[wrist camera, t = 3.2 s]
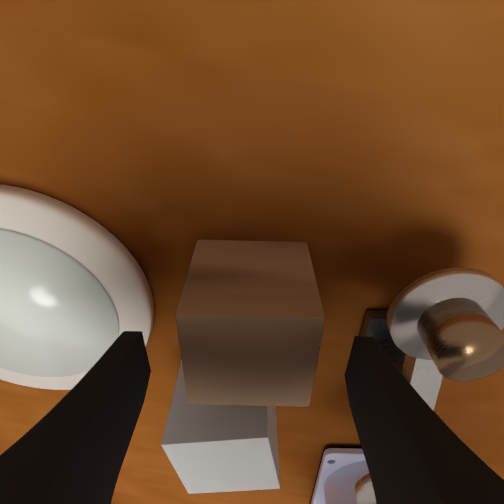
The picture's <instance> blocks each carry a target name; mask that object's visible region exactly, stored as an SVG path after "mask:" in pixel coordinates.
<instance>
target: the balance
mask: <svg viewBox="0 0 504 504" xmlns="http://www.w3.org/2000/svg"><path fill="white" fill-rule="evenodd" d="M503 328H504V287H503V286H502V285H501V284H500V283H499V282H498V281H497V280H496V279H495V278H494V277H492V276H491V275H490V274H488V273H486V272H484V271H481V270H478V269H474V268H468V267H452V268H445V269H441V270H437V271H434V272H431V273H428V274H426V275H424V276H421V277H420V278H418V279H416V280H414V281H413V282H411V283H410V284H408V285H407V286H406V287H405V288H403V289H402V290H401V291H400V292H399V293H398V294H397V296H396V297H395V298H394V299H393V301H392V303H391V305H390V307H389V309H388V310H366V314H365V318H364V321H363V325H362V329H361V333H360V336H362V337H374V338H375V339H376V341H377V342H378V343H379V345H380V346H381V347H382V349H383V350H384V351H385V352H386V354H387V355H388V356H389V358H390V359H391V360H392V362H393V363H394V364H395V365H396V367H397V368H398V369H399V371H400V372H401V373H402V374H403V376H404V377H405V378H406V379H407V381H408V382H409V383H410V384H411V385H412V387H413V388H414V389H415V390H416V391H417V393H418V394H419V395H420V396H421V397H422V399H423V400H424V401H425V402H426V403H427V404H428V405H429V407H430V408H431V409H432V410H433V411H434V407H435V404H436V400H437V396H438V393H439V389H440V385H441V382H442V378H443V376H444V377H446V378H448V379H451V380H456V381H471V380H476V379H480V378H483V377H486V376H489V375H491V374H493V373H495V372H496V371H498V370H499V369H501V368H502V367H503V366H504V334H503V333H502V331H501V330H502V329H503ZM354 490H355V495H356V500H357V504H377V503H376V498H375V493H374V489H373V485H372V481H371V477H370V474H369V473H368V474H366V475H365V476H363V477H362V478H361V479H360V480H358V482H357V483H356V485H355V488H354Z"/></svg>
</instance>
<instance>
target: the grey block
mask: <svg viewBox="0 0 504 504" xmlns="http://www.w3.org/2000/svg"><path fill="white" fill-rule="evenodd" d="M161 445H162V447H163V449H164V451H165V453H166V454H167V456H168V458H169V460H170V461H171V463H172V465H173V467H174V469H175V470H176V472H177V474H178V476H179V478H180V479H181V481H182V483H183V485H184V486H185V488H186V490H187V492H188V494H193V493H211V492H229V491H247V490H265V489H280V476H279V456H278V436H277V415H276V406H249V405H203V404H188V400H187V393H186V386H185V379H184V372H183V365H182V360H181V364H180V368H179V372H178V377H177V381H176V385H175V389H174V393H173V398H172V402H171V406H170V410H169V415H168V419H167V423H166V427H165V431H164V436H163V440H162V444H161Z"/></svg>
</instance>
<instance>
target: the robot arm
mask: <svg viewBox="0 0 504 504" xmlns="http://www.w3.org/2000/svg"><path fill="white" fill-rule="evenodd" d="M150 372H151V370H150V365H149V361H148V356H147V352H146V347H145V343H144V338H143V334H142V331H124V332H122V333H121V334H120V336H119V337H118V338H117V339H116V340H115V341H114V343H113V344H112V345H111V346H110V347H109V348H108V350H107V351H106V352H105V353H104V354H103V355H102V357H101V358H100V359H99V360H98V361H97V362H96V363H95V365H94V366H93V367H92V368H91V369H90V370H89V371H88V372H87V373H86V374H85V375H84V377H83V378H82V379H81V380H80V381H79V382H78V383H77V384H76V385H75V386H74V387H73V388H72V389H71V391H70V392H69V393H68V394H67V395H66V396H65V397H64V398H63V399H62V400H61V401H60V402H59V403H58V404H57V405H56V406H55V407H54V408H53V409H52V410H51V411H50V412H49V413H48V414H47V415H45V416H44V417H43V418H42V419H41V420H40V421H39V422H38V423H37V424H36V425H35V426H34V427H33V428H32V429H30V430H29V431H28V432H27V433H26V434H25V435H24V436H23V437H21V438H20V439H19V440H18V441H17V442H16V443H15V444H13V445H12V446H11V447H10V448H9V449H7V450H6V451H5V452H4V453H3V454H1V455H0V504H111V500H112V496H113V492H114V489H115V485H116V482H117V478H118V475H119V472H120V469H121V466H122V463H123V460H124V457H125V455H126V452H127V449H128V446H129V443H130V440H131V437H132V435H133V432H134V429H135V426H136V423H137V420H138V417H139V414H140V411H141V409H142V406H143V403H144V399H145V395H146V391H147V386H148V382H149V377H150ZM345 380H346V386H347V392H348V398H349V403H350V408H351V411H352V415H353V418H354V422H355V426H356V429H357V432H358V436H359V439H360V443H361V446H362V449H355V448H328V449H326V450H325V451H324V454H323V458H322V462H321V465H320V469H319V473H318V477H317V481H316V485H315V489H314V493H313V497H312V501H311V504H357V500H356V495H355V490H354V488H355V485H356V483H357V482H358V480H360V479H361V478H362V477H363V476H365V475H366V474H368V473H369V474H370V477H371V481H372V485H373V489H374V493H375V498H376V503H377V504H504V480H503V479H502V478H501V477H500V476H498V475H497V474H496V473H495V472H494V471H493V470H492V469H491V468H489V467H488V466H487V465H486V464H485V463H484V462H483V461H482V460H481V459H480V458H479V457H478V456H477V455H476V454H475V453H474V452H472V451H471V450H470V449H469V448H468V447H467V446H466V445H465V444H464V443H463V442H462V441H461V440H460V439H459V438H458V437H457V436H456V435H455V434H454V433H453V432H452V430H451V429H450V428H449V427H448V426H447V425H446V424H445V423H444V422H443V421H442V420H441V419H440V418H439V416H438V415H437V414H436V413H435V412H434V411H433V410H432V409H431V408H430V407H429V405H428V404H427V403H426V402H425V401H424V400H423V399H422V397H421V396H420V395H419V394H418V393H417V391H416V390H415V389H414V388H413V387H412V385H411V384H410V383H409V382H408V381H407V379H406V378H405V377H404V376H403V374H402V373H401V372H400V371H399V369H398V368H397V367H396V365H395V364H394V363H393V362H392V360H391V359H390V358H389V356H388V355H387V354H386V352H385V351H384V350H383V349H382V347H381V346H380V345H379V343H378V342H377V341H376V339H375V338H374V337H362V336H355V338H354V342H353V346H352V350H351V354H350V357H349V361H348V365H347V369H346V373H345Z"/></svg>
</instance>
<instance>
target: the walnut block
mask: <svg viewBox="0 0 504 504" xmlns="http://www.w3.org/2000/svg"><path fill="white" fill-rule="evenodd" d="M175 317H176V324H177V330H178V337H179V344H180V351H181V358H182V365H183V372H184V379H185V386H186V393H187V400H188V404H203V405H249V406H295V407H309V405H310V399H311V393H312V388H313V382H314V377H315V371H316V366H317V360H318V355H319V349H320V343H321V338H322V332H323V327H324V321H325V315H324V311H323V306H322V302H321V298H320V294H319V290H318V286H317V282H316V278H315V273H314V269H313V265H312V261H311V257H310V253H309V249H308V244H307V242H289V241H242V240H197V242H196V246H195V249H194V253H193V256H192V259H191V263H190V266H189V269H188V273H187V276H186V280H185V283H184V286H183V290H182V293H181V296H180V300H179V303H178V307H177V310H176V313H175Z"/></svg>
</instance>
